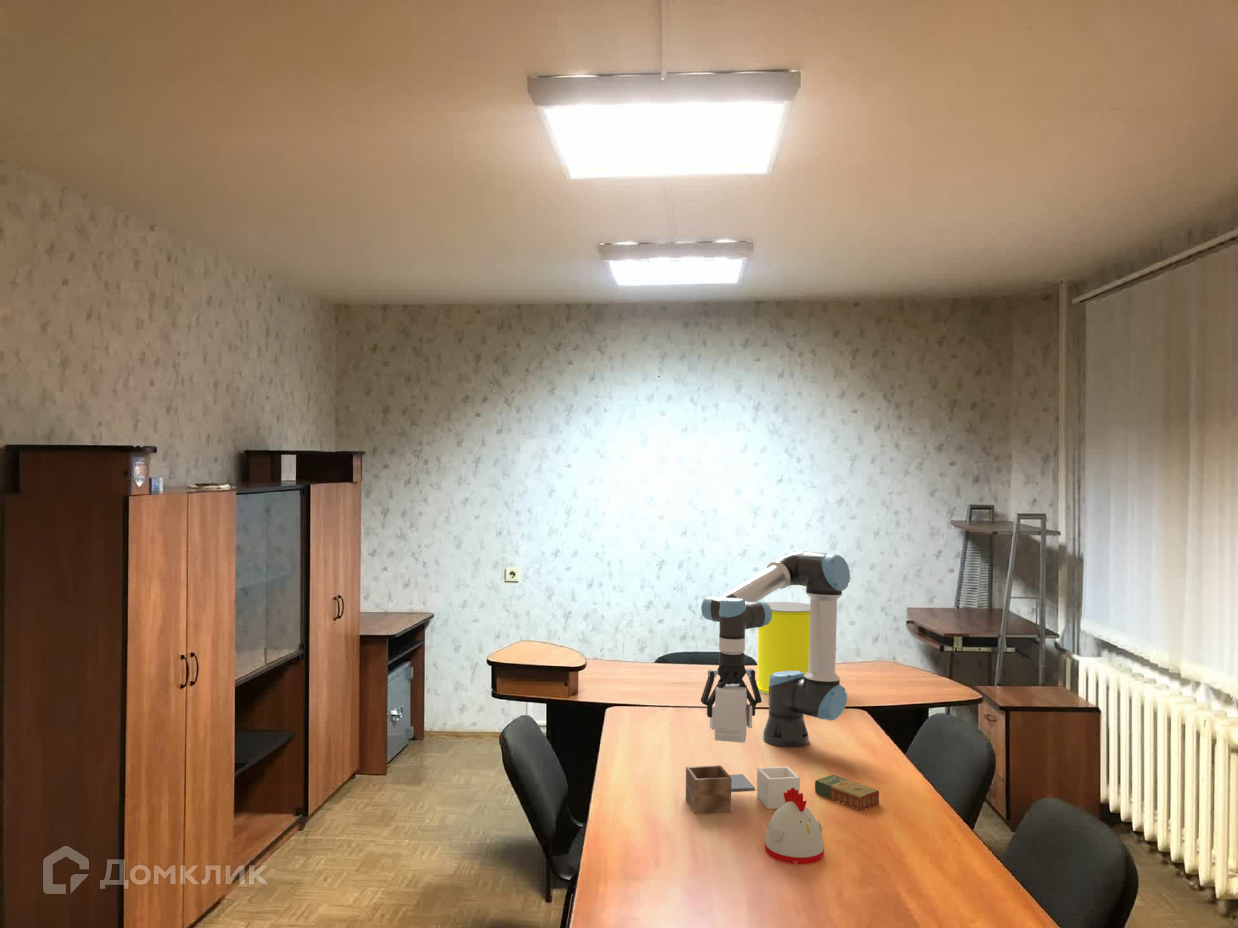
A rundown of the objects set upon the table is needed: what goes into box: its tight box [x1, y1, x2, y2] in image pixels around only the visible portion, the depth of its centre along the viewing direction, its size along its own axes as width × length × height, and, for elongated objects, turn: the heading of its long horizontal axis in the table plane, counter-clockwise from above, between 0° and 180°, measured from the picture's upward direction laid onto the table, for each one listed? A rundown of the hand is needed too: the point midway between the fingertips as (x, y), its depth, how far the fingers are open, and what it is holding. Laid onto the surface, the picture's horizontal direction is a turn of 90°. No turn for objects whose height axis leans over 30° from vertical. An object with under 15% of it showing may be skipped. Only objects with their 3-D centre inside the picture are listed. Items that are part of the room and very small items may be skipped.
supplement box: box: [714, 683, 748, 744], centre depth 248 cm, size 9×9×15 cm
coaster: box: [728, 773, 756, 792], centre depth 248 cm, size 11×11×1 cm
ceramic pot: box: [756, 766, 801, 810], centre depth 235 cm, size 9×9×8 cm
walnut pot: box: [685, 764, 732, 815], centre depth 232 cm, size 10×10×9 cm
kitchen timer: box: [764, 788, 825, 865], centre depth 204 cm, size 14×14×15 cm
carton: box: [814, 774, 880, 811], centre depth 238 cm, size 8×16×4 cm, turn 37°
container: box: [756, 601, 810, 696], centre depth 359 cm, size 26×26×35 cm
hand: (730, 727), depth 248 cm, fingers closed on supplement box, 10 cm apart
